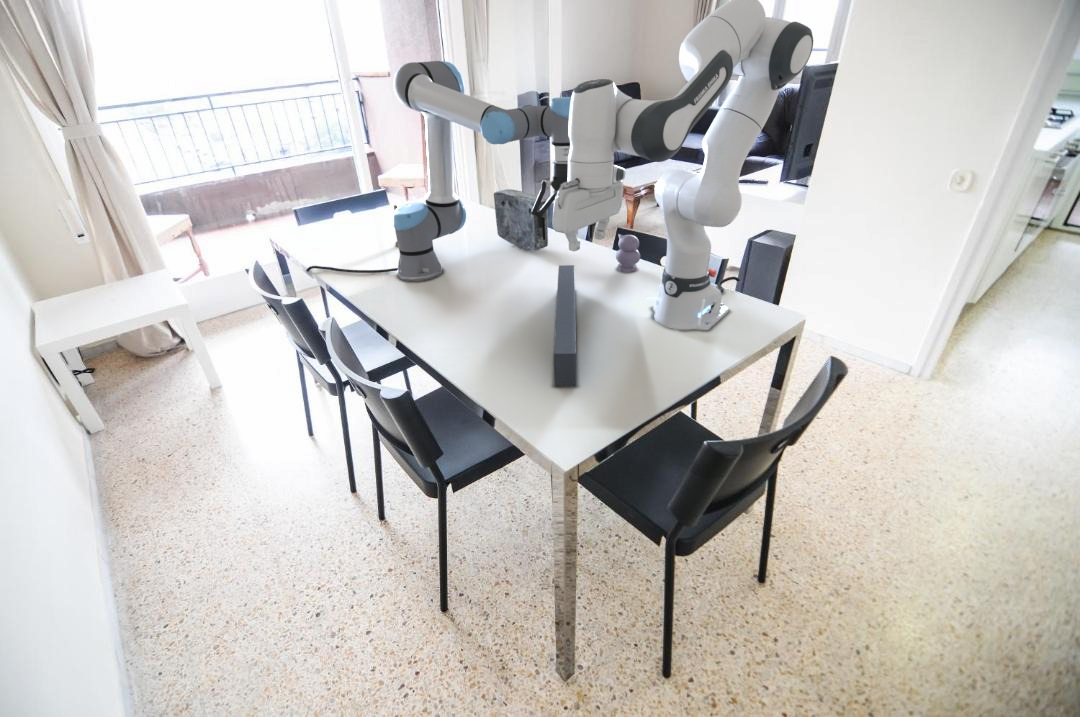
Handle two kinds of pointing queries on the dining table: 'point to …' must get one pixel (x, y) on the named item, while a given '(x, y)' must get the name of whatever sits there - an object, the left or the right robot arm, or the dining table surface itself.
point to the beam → (565, 329)
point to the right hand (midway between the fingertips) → (587, 244)
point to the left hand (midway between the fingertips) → (567, 237)
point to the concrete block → (519, 219)
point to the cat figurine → (627, 253)
